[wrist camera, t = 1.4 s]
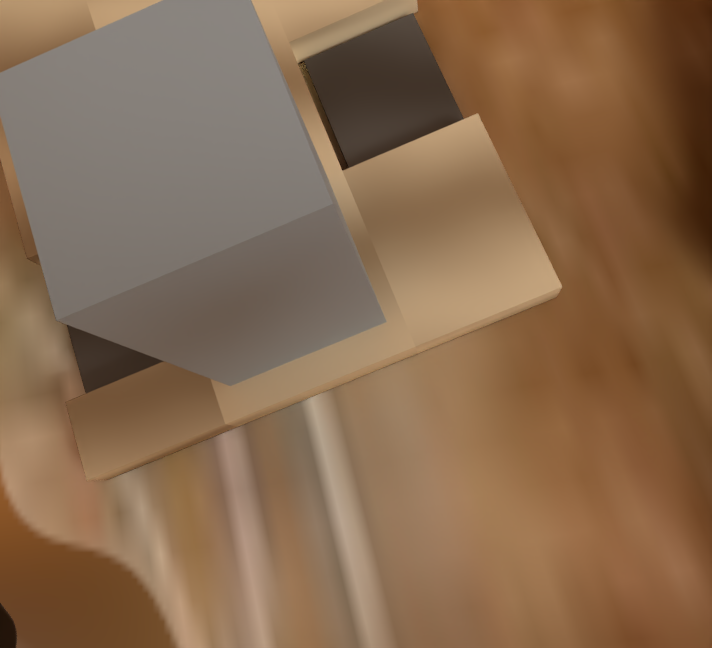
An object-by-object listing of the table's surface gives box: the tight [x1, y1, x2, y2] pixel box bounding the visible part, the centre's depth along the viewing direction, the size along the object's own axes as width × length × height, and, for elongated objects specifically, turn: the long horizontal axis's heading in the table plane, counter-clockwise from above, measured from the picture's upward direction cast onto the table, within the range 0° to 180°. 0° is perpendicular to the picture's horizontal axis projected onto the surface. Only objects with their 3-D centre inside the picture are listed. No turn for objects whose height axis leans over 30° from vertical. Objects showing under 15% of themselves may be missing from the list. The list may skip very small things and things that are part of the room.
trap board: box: [0, 0, 562, 481], centre depth 22 cm, size 20×15×3 cm
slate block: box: [0, 0, 387, 386], centre depth 16 cm, size 5×5×9 cm
